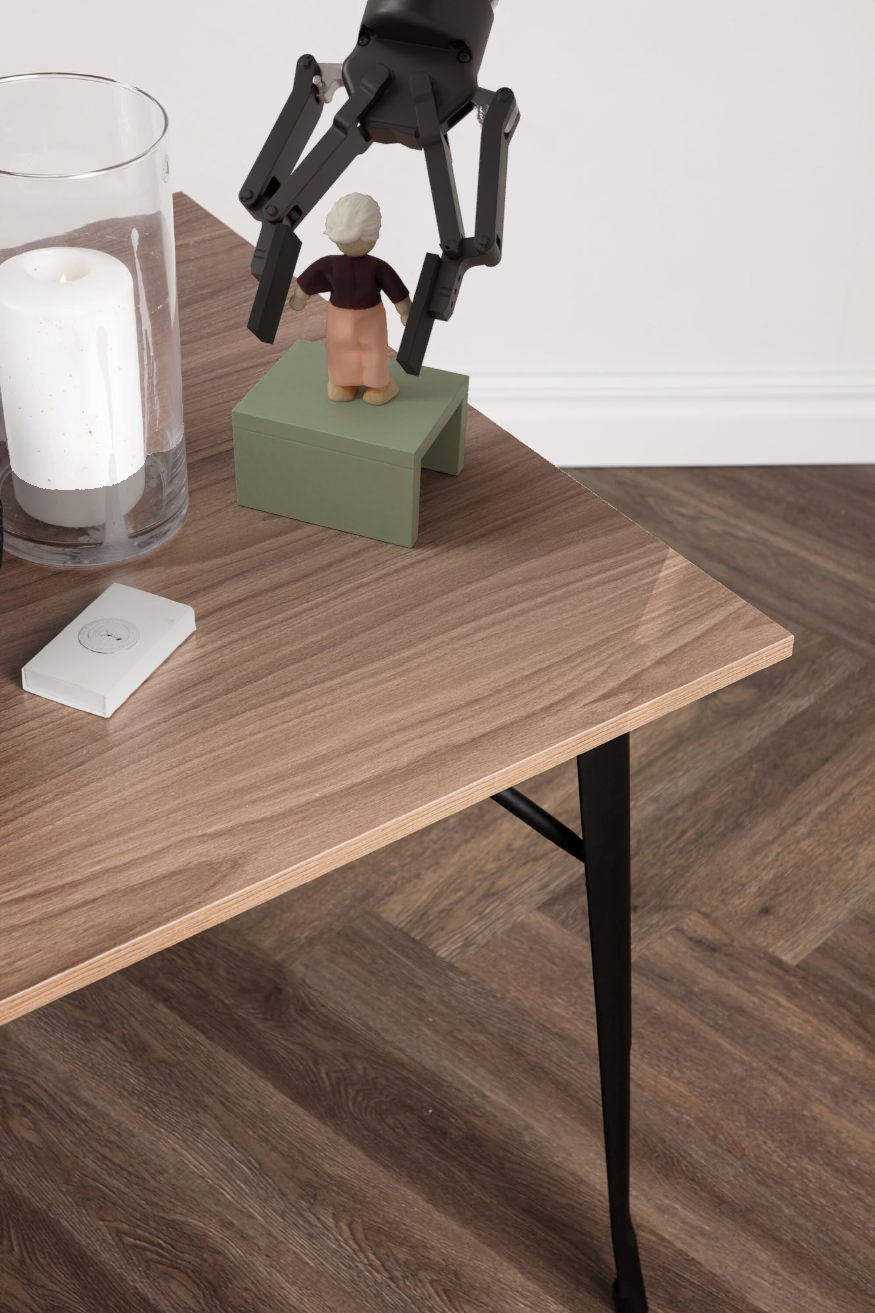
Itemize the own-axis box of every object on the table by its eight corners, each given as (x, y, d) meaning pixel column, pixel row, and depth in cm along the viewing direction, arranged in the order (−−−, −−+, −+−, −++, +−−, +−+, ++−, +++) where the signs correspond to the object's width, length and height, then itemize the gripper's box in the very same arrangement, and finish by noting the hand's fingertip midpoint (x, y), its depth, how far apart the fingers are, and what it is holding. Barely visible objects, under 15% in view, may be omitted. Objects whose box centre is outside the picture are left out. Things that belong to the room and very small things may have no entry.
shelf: (236, 504, 91) (231, 409, 86) (300, 429, 98) (298, 337, 94) (411, 548, 88) (414, 453, 84) (463, 467, 95) (469, 375, 91)
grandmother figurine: (413, 376, 90) (420, 183, 82) (415, 408, 88) (422, 210, 79) (292, 375, 90) (287, 180, 82) (290, 406, 87) (284, 207, 79)
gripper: (616, 52, 86) (516, 408, 85) (291, 1, 91) (193, 336, 90) (604, -19, 78) (494, 369, 77) (251, -71, 83) (144, 294, 82)
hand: (332, 351), depth 83 cm, fingers open, 9 cm apart
